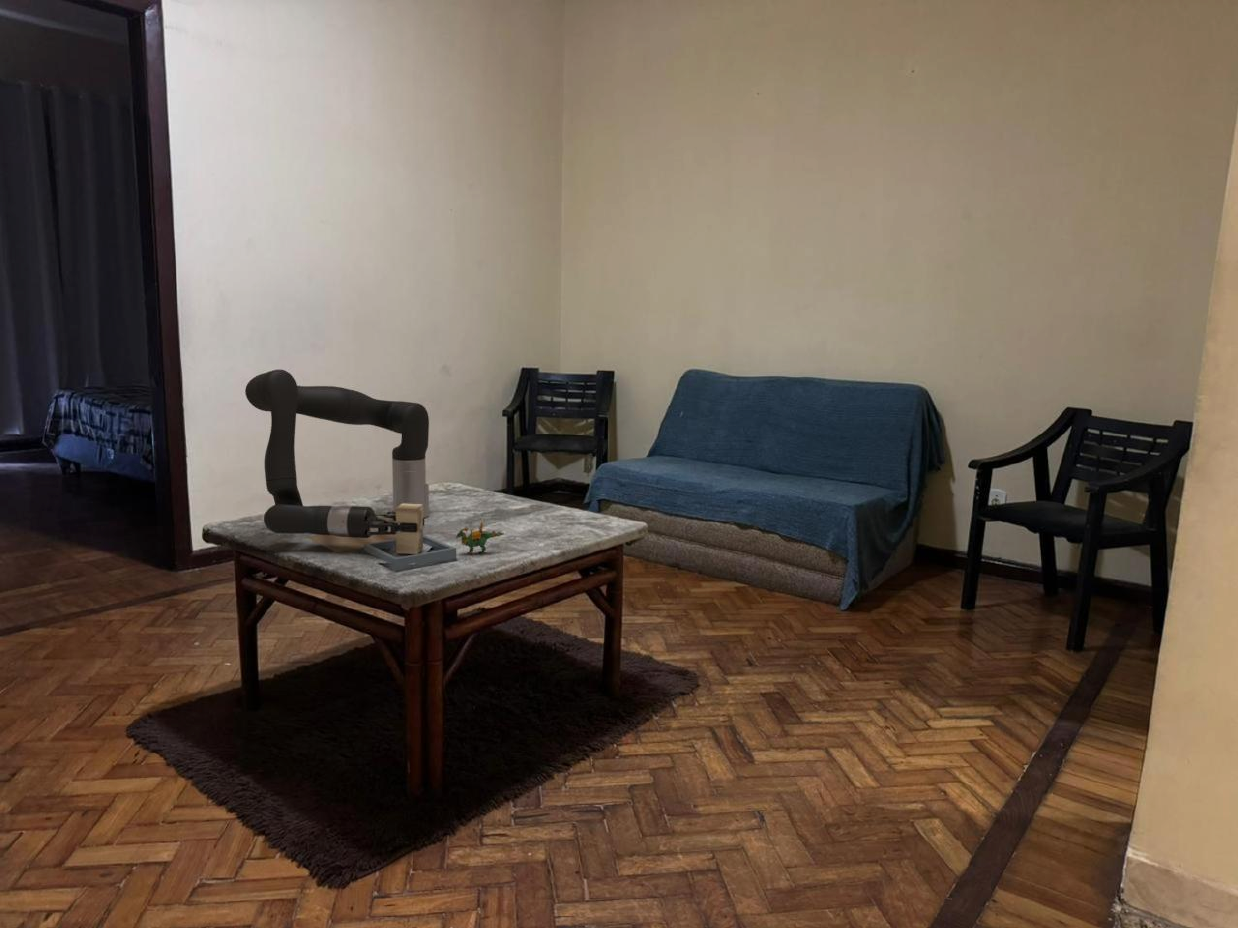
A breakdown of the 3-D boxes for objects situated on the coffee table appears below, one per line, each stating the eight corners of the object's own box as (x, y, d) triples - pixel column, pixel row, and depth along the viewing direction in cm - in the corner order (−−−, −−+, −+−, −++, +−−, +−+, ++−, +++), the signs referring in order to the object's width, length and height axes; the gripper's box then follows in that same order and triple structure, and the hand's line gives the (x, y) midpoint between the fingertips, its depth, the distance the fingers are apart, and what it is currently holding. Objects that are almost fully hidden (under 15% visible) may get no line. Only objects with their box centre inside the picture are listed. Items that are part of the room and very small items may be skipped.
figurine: (455, 553, 216) (455, 521, 215) (503, 550, 220) (503, 518, 218) (456, 556, 213) (456, 524, 212) (505, 553, 217) (505, 521, 215)
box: (423, 546, 222) (423, 534, 221) (456, 560, 210) (456, 548, 209) (364, 556, 211) (363, 544, 211) (395, 572, 199) (395, 559, 199)
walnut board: (380, 531, 235) (380, 525, 235) (412, 545, 222) (412, 539, 221) (307, 542, 222) (307, 536, 222) (336, 558, 209) (336, 552, 208)
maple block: (402, 547, 213) (402, 503, 211) (423, 548, 212) (422, 504, 211) (396, 552, 208) (395, 507, 206) (417, 553, 207) (416, 508, 206)
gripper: (339, 513, 202) (411, 516, 201) (361, 500, 216) (429, 503, 215) (340, 544, 203) (411, 547, 202) (362, 529, 218) (429, 532, 217)
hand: (420, 524), depth 209 cm, fingers closed on maple block, 5 cm apart
